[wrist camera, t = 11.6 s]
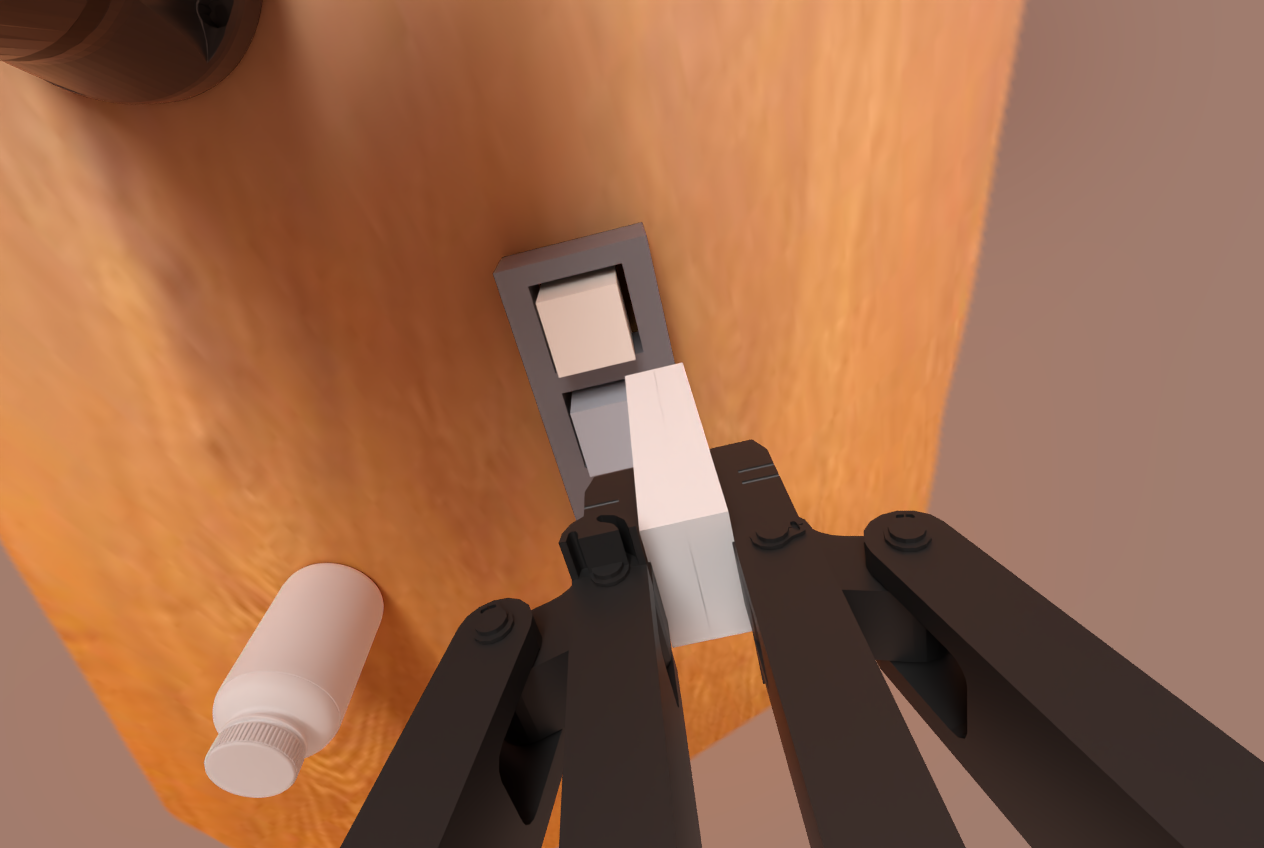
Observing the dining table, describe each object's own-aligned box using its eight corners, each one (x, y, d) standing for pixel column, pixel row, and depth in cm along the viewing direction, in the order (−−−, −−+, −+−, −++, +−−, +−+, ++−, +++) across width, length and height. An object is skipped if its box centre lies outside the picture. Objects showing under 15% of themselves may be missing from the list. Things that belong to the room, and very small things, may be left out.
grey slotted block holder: (592, 534, 51) (592, 567, 47) (501, 257, 41) (492, 273, 38) (706, 508, 50) (714, 540, 47) (642, 222, 40) (646, 235, 37)
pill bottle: (368, 647, 55) (295, 825, 42) (272, 615, 53) (162, 791, 40) (401, 581, 52) (334, 750, 39) (300, 544, 50) (193, 709, 37)
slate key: (590, 442, 46) (590, 476, 42) (572, 383, 43) (570, 413, 39) (655, 427, 45) (661, 460, 41) (640, 367, 43) (644, 396, 39)
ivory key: (562, 350, 42) (558, 378, 38) (541, 281, 40) (535, 303, 36) (632, 333, 42) (635, 359, 38) (614, 263, 40) (616, 283, 36)
